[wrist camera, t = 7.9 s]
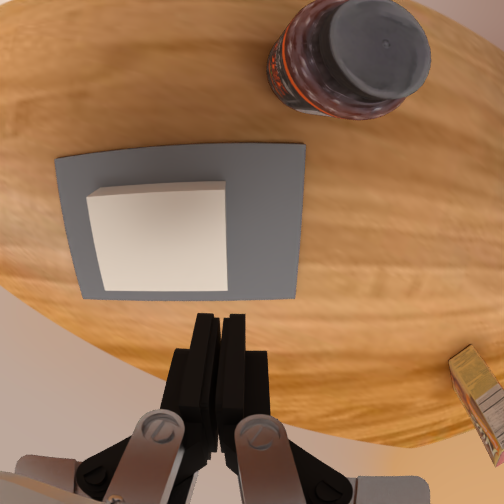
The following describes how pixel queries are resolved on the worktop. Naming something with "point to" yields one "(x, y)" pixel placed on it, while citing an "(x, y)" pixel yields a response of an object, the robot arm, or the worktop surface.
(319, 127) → the worktop surface
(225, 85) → the worktop surface
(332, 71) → the supplement bottle
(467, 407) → the candy box
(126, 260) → the block
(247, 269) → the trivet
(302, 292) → the worktop surface
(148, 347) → the worktop surface
